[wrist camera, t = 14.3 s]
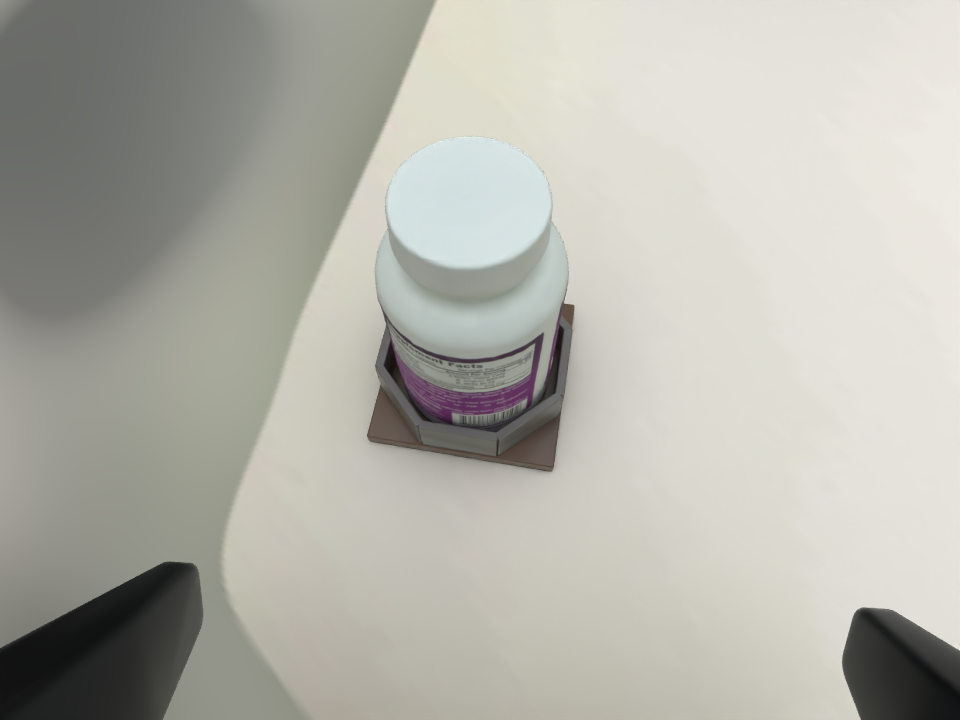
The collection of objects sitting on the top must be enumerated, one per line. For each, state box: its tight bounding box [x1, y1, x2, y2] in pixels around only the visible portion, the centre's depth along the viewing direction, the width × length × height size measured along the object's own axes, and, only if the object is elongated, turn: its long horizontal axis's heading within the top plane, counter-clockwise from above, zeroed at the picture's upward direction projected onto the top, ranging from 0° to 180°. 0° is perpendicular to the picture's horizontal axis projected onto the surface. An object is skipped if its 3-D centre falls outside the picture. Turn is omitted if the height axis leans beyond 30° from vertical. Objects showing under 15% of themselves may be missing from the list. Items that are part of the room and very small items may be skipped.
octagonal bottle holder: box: [367, 304, 574, 471], centre depth 24 cm, size 7×7×2 cm
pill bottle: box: [375, 136, 569, 432], centre depth 20 cm, size 5×5×10 cm
